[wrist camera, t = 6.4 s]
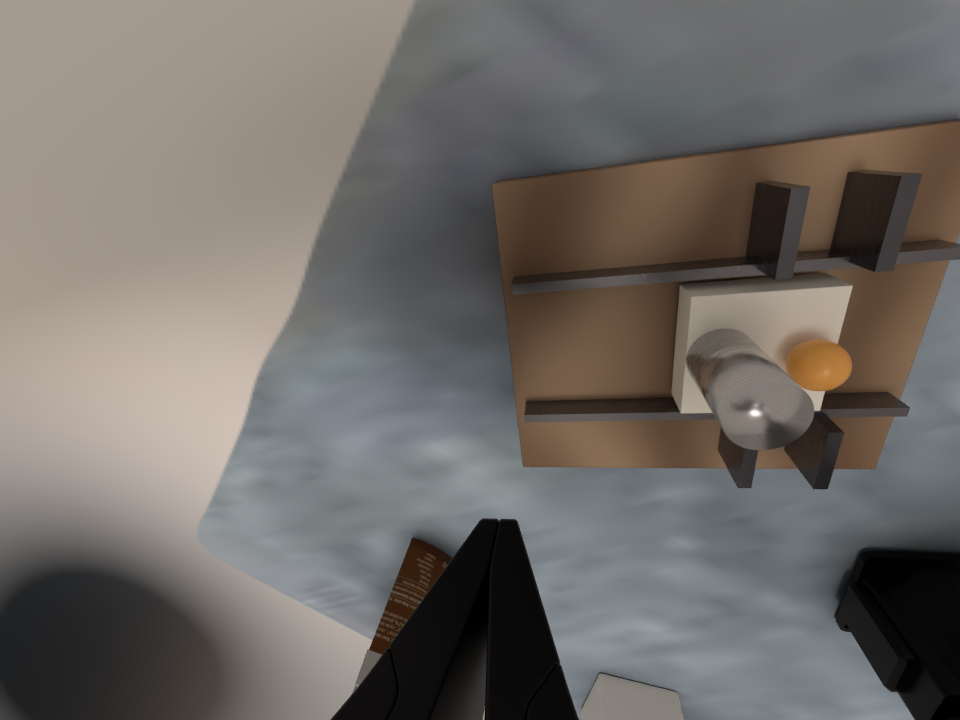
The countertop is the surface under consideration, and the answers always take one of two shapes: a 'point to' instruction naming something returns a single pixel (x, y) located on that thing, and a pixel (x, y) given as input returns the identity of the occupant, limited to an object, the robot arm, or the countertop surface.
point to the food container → (405, 597)
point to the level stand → (719, 257)
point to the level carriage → (760, 354)
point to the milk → (630, 701)
